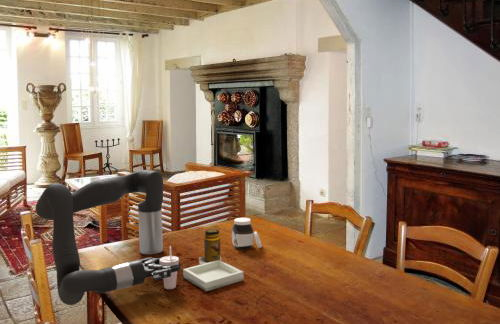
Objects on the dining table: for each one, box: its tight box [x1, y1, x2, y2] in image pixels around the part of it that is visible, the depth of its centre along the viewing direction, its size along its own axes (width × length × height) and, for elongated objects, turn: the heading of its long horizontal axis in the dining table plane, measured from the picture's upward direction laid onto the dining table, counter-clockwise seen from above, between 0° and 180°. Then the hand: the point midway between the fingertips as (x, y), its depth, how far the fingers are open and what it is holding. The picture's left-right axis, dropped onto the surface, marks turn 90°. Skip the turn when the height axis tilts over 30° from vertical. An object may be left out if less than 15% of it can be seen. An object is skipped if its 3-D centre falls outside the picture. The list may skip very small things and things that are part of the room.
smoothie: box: [159, 245, 180, 290], centre depth 156 cm, size 6×6×14 cm
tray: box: [182, 259, 244, 292], centre depth 163 cm, size 15×15×3 cm
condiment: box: [198, 228, 222, 265], centre depth 181 cm, size 7×8×12 cm
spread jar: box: [231, 217, 263, 250], centre depth 197 cm, size 12×11×12 cm
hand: (173, 263), depth 157 cm, fingers open, 8 cm apart
